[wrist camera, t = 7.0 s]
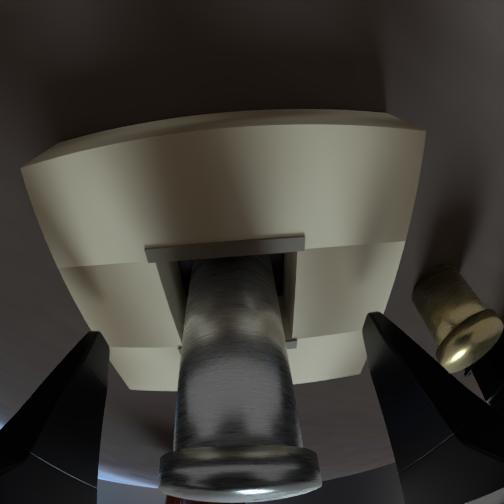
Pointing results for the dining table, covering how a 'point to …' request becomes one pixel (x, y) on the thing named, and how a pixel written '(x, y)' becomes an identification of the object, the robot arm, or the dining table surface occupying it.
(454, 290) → the short pin
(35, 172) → the socket board
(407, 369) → the robot arm
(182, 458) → the long pin
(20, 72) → the dining table surface
